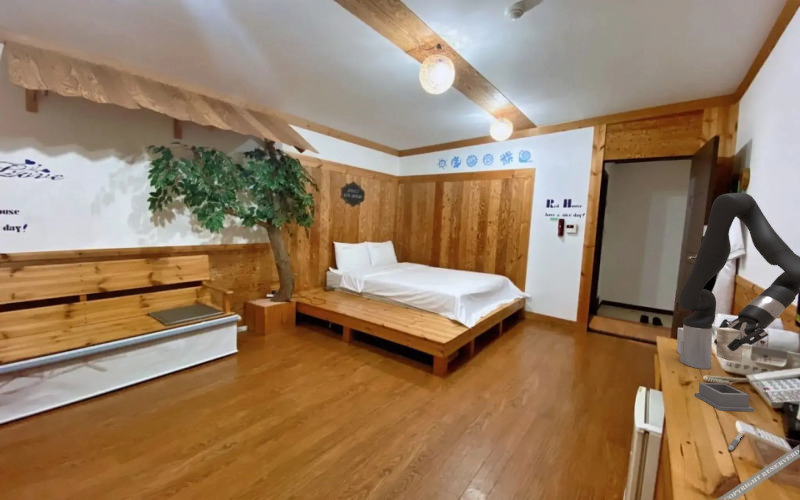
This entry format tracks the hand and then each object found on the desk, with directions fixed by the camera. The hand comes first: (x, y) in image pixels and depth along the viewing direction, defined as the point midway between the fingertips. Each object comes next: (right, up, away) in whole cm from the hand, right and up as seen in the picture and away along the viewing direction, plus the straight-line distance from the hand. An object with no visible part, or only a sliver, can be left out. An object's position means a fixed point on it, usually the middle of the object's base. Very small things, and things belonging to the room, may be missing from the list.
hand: (723, 346), depth 111 cm
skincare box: (+26, -17, +43) cm, 53 cm away
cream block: (+2, -4, 0) cm, 5 cm away
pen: (-20, -20, -23) cm, 37 cm away
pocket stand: (-3, -18, -3) cm, 19 cm away
